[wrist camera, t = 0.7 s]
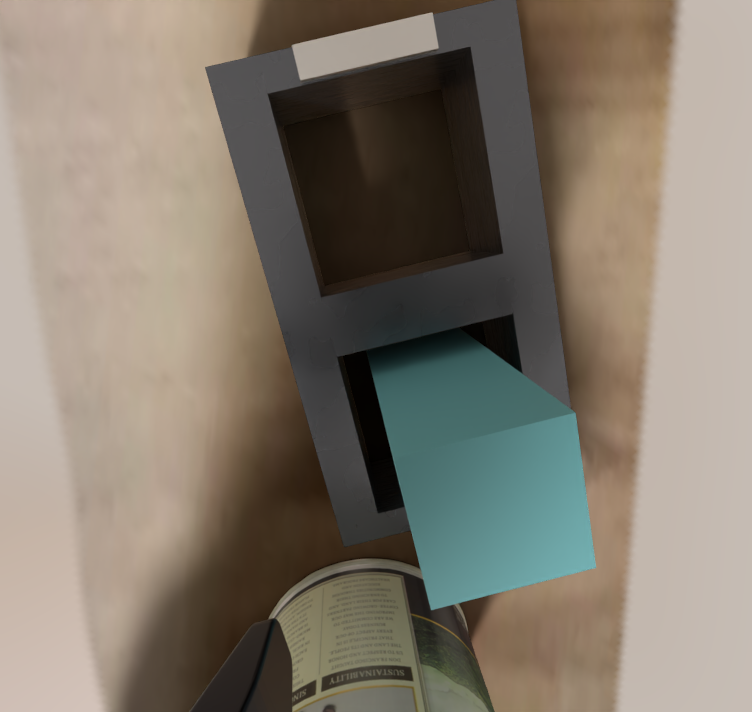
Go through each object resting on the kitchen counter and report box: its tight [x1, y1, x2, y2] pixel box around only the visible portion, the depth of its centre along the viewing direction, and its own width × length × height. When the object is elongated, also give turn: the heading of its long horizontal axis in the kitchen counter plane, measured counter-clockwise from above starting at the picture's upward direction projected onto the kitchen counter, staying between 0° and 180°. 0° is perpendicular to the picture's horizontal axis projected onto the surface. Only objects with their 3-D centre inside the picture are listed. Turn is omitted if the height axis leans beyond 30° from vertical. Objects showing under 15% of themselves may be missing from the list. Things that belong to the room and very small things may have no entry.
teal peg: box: [366, 328, 596, 610], centre depth 15 cm, size 4×4×10 cm
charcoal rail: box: [205, 0, 571, 547], centre depth 17 cm, size 16×9×4 cm, turn 13°
